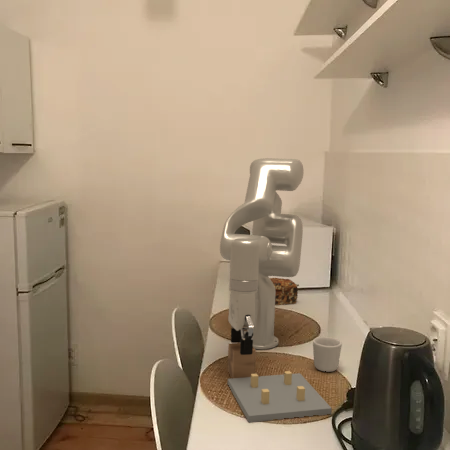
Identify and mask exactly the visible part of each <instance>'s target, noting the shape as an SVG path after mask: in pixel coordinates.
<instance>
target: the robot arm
mask: <svg viewBox="0 0 450 450" xmlns="http://www.w3.org/2000/svg"><path fill="white" fill-rule="evenodd" d="M303 178H304V165H303V162H301V160H300V159H295V158H294V159H293V158H268V157H267V158H258V159H255V160H252V162H251V163H250V166H249V178H248V182H247V183H248V184H247V188H246V194H245V199H244V202H243V203H242V204H241V205H240V206H238V207H237V208H236V209H235V210H234V211H233V212H231V213H230V215H228V217H227V218H226V221H225V222H224V225H223V229H222V233H221V237H220V241H219V253H220V256H221V257H222V258H223V260H224V259H225V260H226V261H230V265H229V266H230V267H229V285H228V286H229V287H228V289H229V291H230V294H229V295H230V296H229V305H228V318H227V319H228V323H229V324H230V326H231V328H230V342H231V344H232V343H240V354H241V355H250V354H252V352H253V347H254V349H255V350H267V349H269V350H270V349H273V348H275V347H277V346H278V345H279V338H278V337H277V336H275V335H274V334H275V315H276V314H275V313H276V312H275V311H276V305H275V293H276V292H275V286H274V284H273V283H272V281H271V280H270V278H271V277H278V278H280V277H281V278H293V277H296V276H297V275H298V273H299V270H300V265H301V255H302V243H303V231H304V228H303V220H302V219H301V217H300V216H298V215H296V214H290V213H282V208H283V207H282V206H283V200H282V198H281V197H280V195H279V194H278V192H277V191H284V192H293V191H296V190H297V188H298V187H299V186H301V185H300V184H302V181H303ZM251 222H252V228H251V229H252V230H251V233H252V234H243V233H241V234H240V233H236V231H237V230H238V229H240V227H242V226H244V225H246V224H249V223H251ZM275 244H276V245H275ZM277 244H278V245H277ZM279 244H280V245H279Z"/></svg>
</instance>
